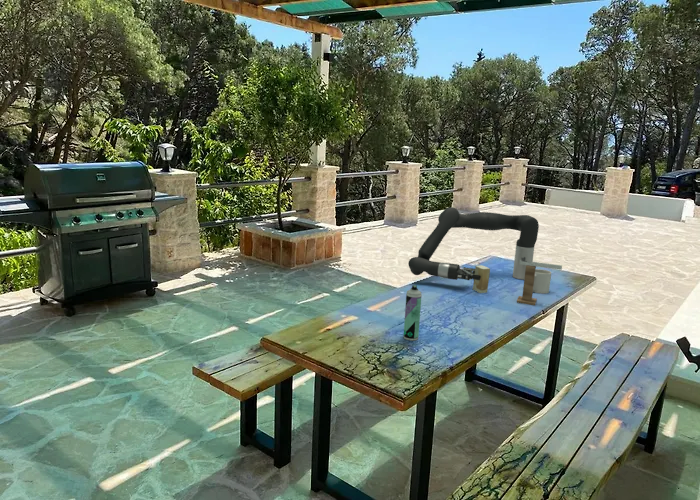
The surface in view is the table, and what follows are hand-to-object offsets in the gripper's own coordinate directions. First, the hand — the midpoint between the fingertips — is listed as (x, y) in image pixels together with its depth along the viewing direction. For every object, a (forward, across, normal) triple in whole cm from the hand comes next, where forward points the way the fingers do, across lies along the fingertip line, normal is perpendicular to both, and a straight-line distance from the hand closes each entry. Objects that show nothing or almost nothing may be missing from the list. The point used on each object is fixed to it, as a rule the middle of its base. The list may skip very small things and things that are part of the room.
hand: (482, 275), depth 260 cm
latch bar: (+26, -5, -10) cm, 28 cm away
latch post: (+22, -5, +8) cm, 24 cm away
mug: (+25, +16, +8) cm, 31 cm away
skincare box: (0, 0, +8) cm, 8 cm away
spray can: (-12, -74, +8) cm, 75 cm away
